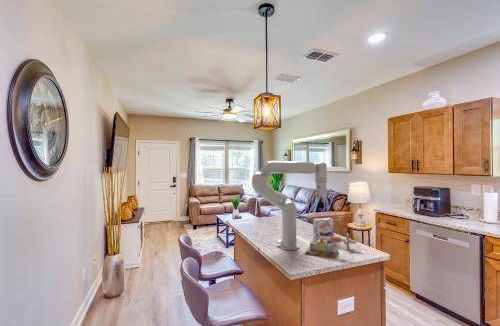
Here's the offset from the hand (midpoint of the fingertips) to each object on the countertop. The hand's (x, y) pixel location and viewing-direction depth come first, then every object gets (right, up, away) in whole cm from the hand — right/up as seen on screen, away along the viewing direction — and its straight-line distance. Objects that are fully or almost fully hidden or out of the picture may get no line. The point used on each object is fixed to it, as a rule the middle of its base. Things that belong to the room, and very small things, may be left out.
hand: (321, 207), depth 172 cm
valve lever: (+2, -19, -12) cm, 22 cm away
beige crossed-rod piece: (+17, -27, -2) cm, 32 cm away
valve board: (-3, -27, -10) cm, 29 cm away
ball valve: (-3, -26, -10) cm, 28 cm away
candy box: (+6, -28, +16) cm, 32 cm away
